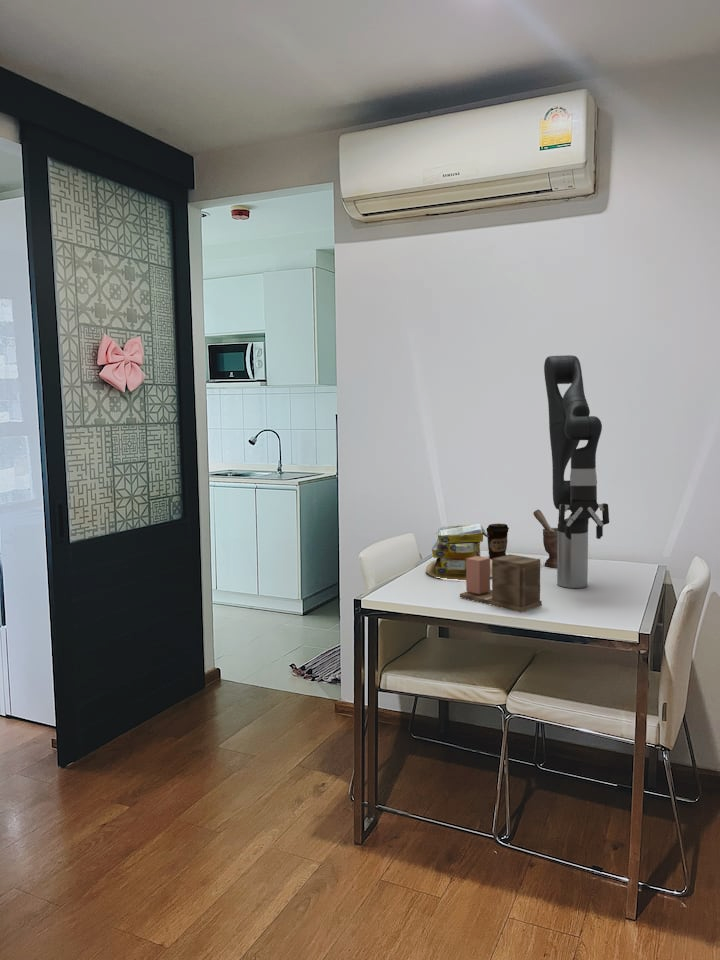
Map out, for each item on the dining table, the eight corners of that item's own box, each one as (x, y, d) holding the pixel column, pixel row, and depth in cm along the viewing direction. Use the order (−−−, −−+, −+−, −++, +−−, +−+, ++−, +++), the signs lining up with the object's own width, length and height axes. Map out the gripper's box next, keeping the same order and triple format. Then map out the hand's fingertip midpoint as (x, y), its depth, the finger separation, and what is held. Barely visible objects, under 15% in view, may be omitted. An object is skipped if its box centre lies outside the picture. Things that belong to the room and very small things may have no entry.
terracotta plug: (466, 591, 219) (466, 558, 218) (476, 588, 222) (476, 556, 221) (479, 594, 215) (479, 560, 214) (490, 591, 219) (489, 558, 218)
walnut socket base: (459, 597, 218) (459, 553, 217) (480, 591, 224) (480, 548, 223) (520, 612, 202) (520, 564, 200) (541, 605, 208) (541, 558, 207)
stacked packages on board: (490, 584, 234) (490, 533, 232) (416, 578, 243) (416, 529, 242) (505, 568, 256) (505, 521, 255) (437, 563, 266) (437, 518, 264)
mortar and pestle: (537, 568, 254) (537, 512, 252) (531, 563, 262) (531, 508, 260) (570, 568, 254) (570, 511, 252) (564, 562, 262) (564, 508, 260)
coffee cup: (513, 560, 268) (513, 525, 266) (491, 562, 266) (491, 527, 265) (503, 556, 276) (503, 522, 275) (482, 557, 274) (482, 523, 273)
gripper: (604, 483, 218) (604, 537, 219) (556, 484, 219) (556, 537, 219) (611, 484, 211) (611, 540, 211) (561, 484, 211) (562, 540, 212)
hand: (583, 538), depth 215 cm, fingers open, 8 cm apart
